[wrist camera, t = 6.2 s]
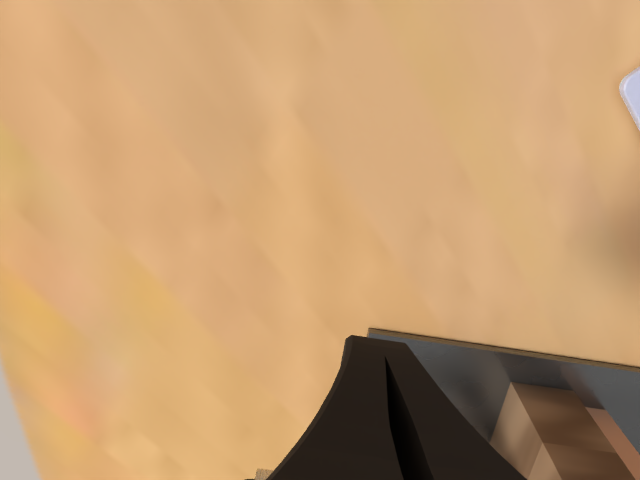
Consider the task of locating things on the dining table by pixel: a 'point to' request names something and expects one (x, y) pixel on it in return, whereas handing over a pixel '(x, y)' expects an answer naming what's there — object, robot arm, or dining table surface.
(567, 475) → the bearing block
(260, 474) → the crank handle
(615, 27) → the dining table surface
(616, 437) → the collar
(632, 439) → the base plate
